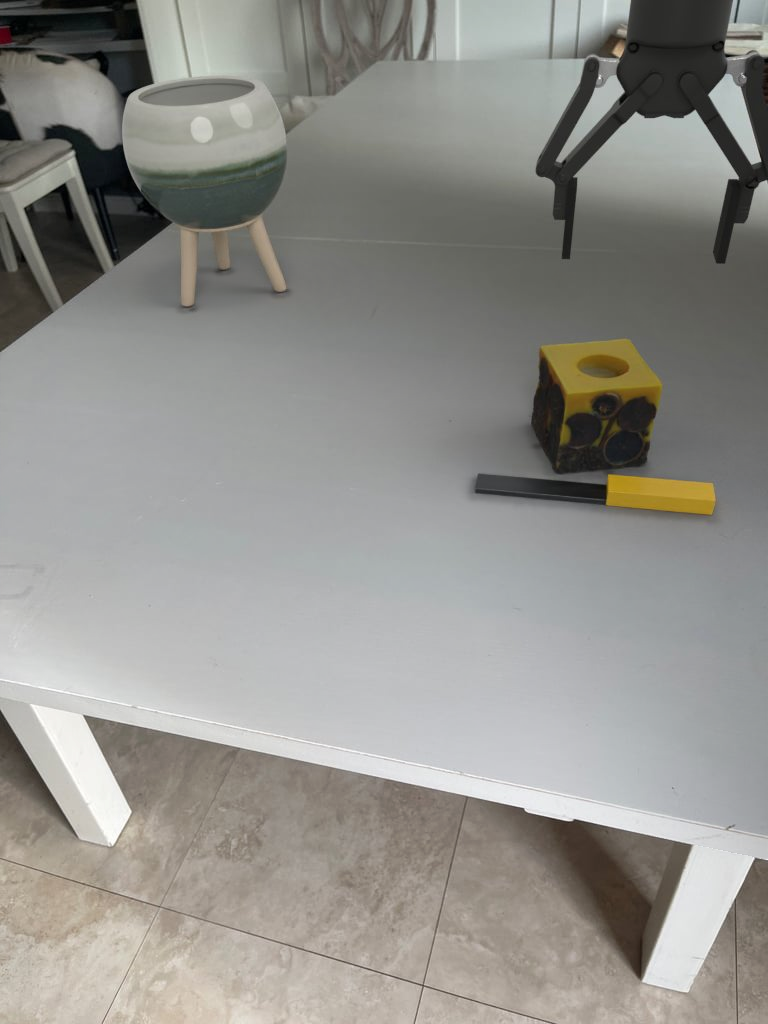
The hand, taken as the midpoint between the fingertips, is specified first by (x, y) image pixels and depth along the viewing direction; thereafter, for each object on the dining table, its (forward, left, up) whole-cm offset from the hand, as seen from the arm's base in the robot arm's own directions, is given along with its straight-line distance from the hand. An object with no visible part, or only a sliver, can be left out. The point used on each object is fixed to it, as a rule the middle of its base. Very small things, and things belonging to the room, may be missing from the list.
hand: (641, 256), depth 74 cm
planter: (+66, +10, -21) cm, 70 cm away
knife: (-4, +9, -21) cm, 23 cm away
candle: (+2, +2, -21) cm, 21 cm away
